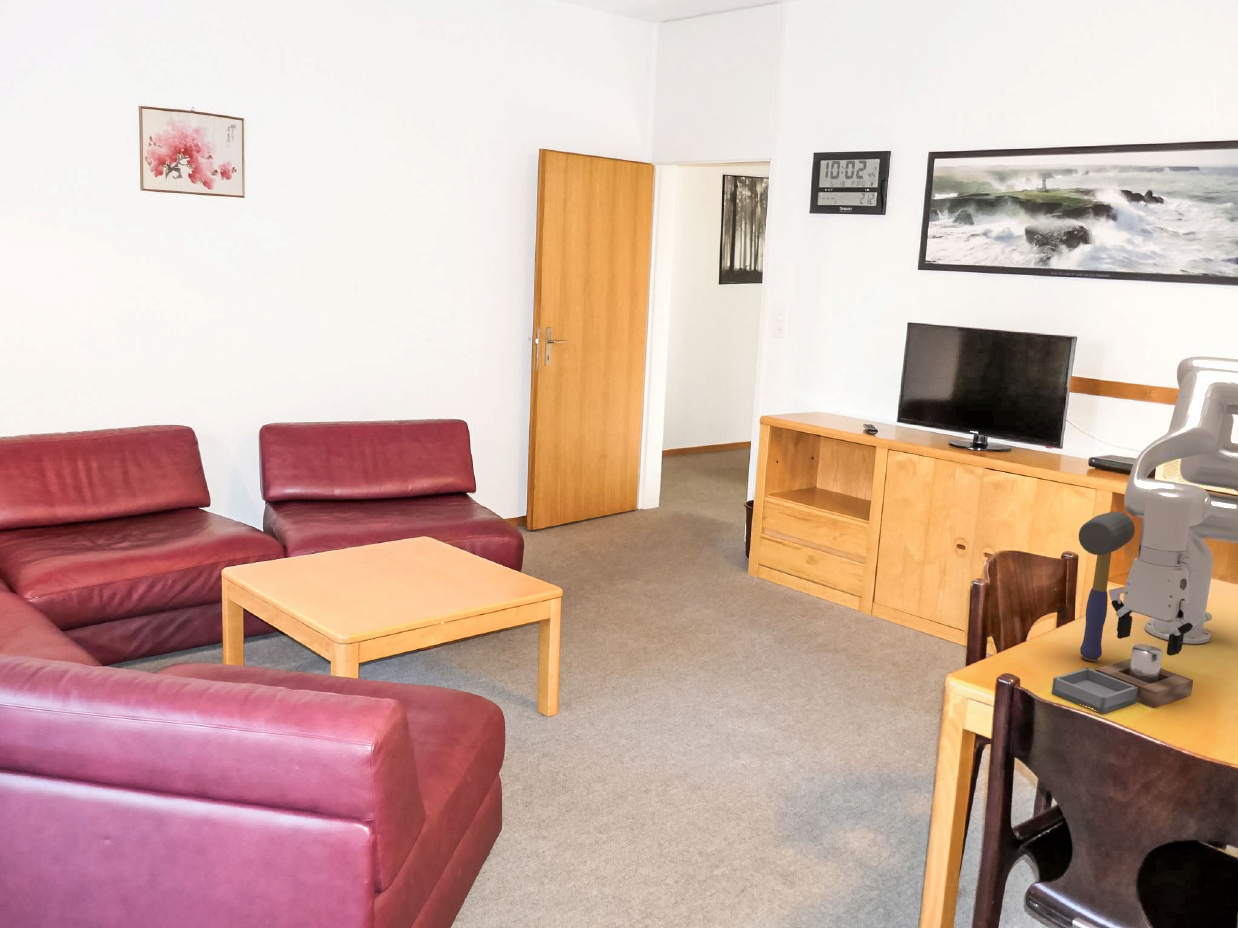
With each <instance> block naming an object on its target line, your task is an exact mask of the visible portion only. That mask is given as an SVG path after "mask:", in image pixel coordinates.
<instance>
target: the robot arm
mask: <svg viewBox="0 0 1238 928" xmlns="http://www.w3.org/2000/svg"><path fill="white" fill-rule="evenodd" d="M1176 380H1177V381H1176V382H1177V385H1178V389H1179V390H1178V392H1177V397H1176V401H1175V404H1174V405H1175V406H1174V409H1173V412H1172V415H1171V421H1170V424H1169V428H1168V430H1167V432H1166V434H1164V435H1162V436H1160V437H1159V438H1157V439H1156V440H1154V441H1152V442H1151V443H1150V444H1149V445H1148V446H1146V447H1145V448H1144V449H1143V450H1142V451H1141V452H1140V453H1139V455H1138V456H1136V457H1137V458H1136V459H1135V460H1134V462H1133V465H1132V467H1131V470H1130V473H1129V477H1128V480H1127V484H1126V488H1125V491H1124V492H1125V493H1124V498H1123V499H1124V500H1123V501H1124V502H1123V503H1124V504H1123V505H1124V508H1125V510H1126V511H1127V513H1129V514H1130V515H1131V516H1133V517H1137V518H1141V519H1142V522H1141V523H1142V524H1141V530H1140V531H1141V532H1140V540H1139V545H1138V552H1137V557H1135V558H1134V559H1133V561H1132V564H1131V567H1130V568H1129V570H1128V571H1129V572H1128V575H1127V578H1126V581H1125V582H1126V583H1125V586H1121V587H1116V588H1112V589H1109V590H1108V595H1109V597H1110V601H1111V603H1110V604H1111V606H1112V608H1113V609H1114V611H1115V615H1116V617H1117V618H1118V620H1117V625H1116V632H1117V634H1116V638H1117V639H1125V638H1129V637H1131V632H1132V623H1133V616H1132V614H1133V613H1136V614H1138V615H1142V616H1145V617H1149V618H1151V619H1149V620H1147V621H1146V622H1145V624H1144V629H1145V630H1146V632H1148V633H1149V634H1150V635H1152V636H1154V637H1156V638H1159V639H1163V640H1167V649H1166V655H1167V656H1169V657H1172V656H1176V655H1178V654H1180V652H1182V650H1183V644H1189V645H1190V644H1192V645H1199V644H1206V643H1208V642H1210V640H1211V633H1210V632H1209V631H1208V630H1207V629H1205V628H1204V625H1205V623H1206V622H1210V621H1212V618H1213V615H1212V614H1211V613H1210V612H1208V611H1207V608H1208V607H1207V606H1208V600H1209V599H1208V598H1209V593H1210V588H1211V587H1210V586H1211V582H1212V575H1213V568H1214V556H1213V553H1212V550H1211V549H1210V547H1209V546H1208V544H1207V543H1206V541H1205V540H1204V539H1210V540H1217V541H1221V542H1229V543H1233V544H1234V543H1235V544H1238V496H1234V495H1227V494H1220V493H1216V492H1208V491H1207V490H1206V489H1205V488H1204V487H1201V486H1207V487H1212V488H1219V489H1220V488H1221V489H1227V490H1234V492H1237V493H1238V443H1235V442H1232V433H1233V427H1234V421H1235V419H1234V416H1233V415H1236V416H1238V359H1237V358H1227V357H1217V356H1190V357H1185V358H1184V359H1182V360H1180V362H1179V364H1178V366H1177V369H1176ZM1176 460H1177V461H1178V460H1180V464H1179V465H1180V467H1179V469H1180V470H1179V472H1180V476H1181V477H1182V478H1181V479H1183V480H1184V481H1186V482H1187V483H1181V482H1175V481H1169V480H1168V481H1167V480H1161V479H1154V478H1148V477H1149V475H1150V474H1151V472H1153V470H1155V469H1156V468H1158V467H1160V466H1162V465H1164V464H1166V463H1170V462H1173V461H1176ZM1188 482H1189V483H1192V484H1188ZM1193 484H1195V485H1193ZM1198 485H1201V486H1198ZM1122 594H1123V599H1122V600H1121V595H1122Z"/></svg>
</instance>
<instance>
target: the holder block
mask: <svg viewBox="0 0 1238 928" xmlns="http://www.w3.org/2000/svg"><path fill="white" fill-rule="evenodd" d="M1130 661H1131V657H1130V658H1127V659H1124V660H1121V661H1117V662H1115V663H1114V662H1113V663H1111V664H1110V663H1109V664H1108V665H1104V666H1100V667H1098V668H1095V669H1094V671H1097V672H1099V673H1102V674H1104V675H1107V676H1110V677H1112V678H1115V679H1117V680H1120V681H1123V682H1125V683H1128V684H1130V685H1133V686H1136V687H1138V691H1137V698H1136V702H1137V703H1140V704H1143V705H1146V706H1148V707H1150V708H1152V709H1155V708H1158V707H1161V706H1164V705H1166V704H1170V703H1173V702H1175V701H1178V700H1180V699H1184V698H1187V697H1190V696H1191V695H1192V690H1193V681H1194V679H1191V678H1190V677H1187V676H1184V675H1181V674H1178V673H1176V672H1172V671H1170V670H1168V669H1164V668H1161V667H1160V672H1159V679H1158V681H1157V682H1154V683H1151V684H1150V683H1147V682H1144V681H1142V680H1139V679H1136V678H1134V677H1131V676H1128V675H1129V668H1130Z"/></svg>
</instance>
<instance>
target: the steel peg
mask: <svg viewBox="0 0 1238 928" xmlns="http://www.w3.org/2000/svg"><path fill="white" fill-rule="evenodd" d="M1130 658H1131V661H1130V668H1129V675H1128V676H1131V677H1134V678H1136V679H1139V680H1142V681H1144V682H1147V683H1150V684H1151V683H1154V682H1157V681H1158V679H1159V672H1160V668H1161V665H1162V659H1163V650H1162V649H1161V648H1158V647H1157V646H1154V645H1149V644H1143V643H1142V644H1137V643H1136V644H1133V645H1132V647H1131V656H1130Z"/></svg>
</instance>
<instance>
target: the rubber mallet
mask: <svg viewBox="0 0 1238 928" xmlns="http://www.w3.org/2000/svg"><path fill="white" fill-rule="evenodd" d="M1135 528H1136V527H1135V524H1134V522H1133V520H1132V518H1130V516H1128V515H1127V514H1125V513H1124V512H1121V511H1109V512H1105V513H1101V514H1098V515H1096V516H1094V517H1093V518H1091V519H1090V520H1088V521H1087V522H1085V523H1084V524H1083V525H1082V526H1081V527H1080V529H1079V531H1078V541H1079V544H1080V546H1081V547H1082V548H1083V550H1085V551H1086V552H1087V553H1089V554H1091V555H1094V556H1095V555H1096V562H1095V570H1094V575H1093V582H1092V588H1091V589H1090V591H1089V594H1088V597H1087V602H1086V607H1085V627H1084V633H1083V634H1084V635H1083V639H1082V643H1081V646H1080V647H1079V648H1080V649H1079V653H1080V655H1081V657H1082V659H1084V660H1086V661H1089V662H1097V661H1099V659H1100V657H1102V654H1103V650H1102V648H1103V647H1102V641H1103V640H1102V639H1103V631H1104V626H1105V622H1106V620H1107V619H1106V618H1107V614H1108V599H1109V598H1108V595H1109V594H1108V591H1107V589H1108V581H1109V575H1110V566H1111V560H1112V559H1111V558H1112V553H1113V552H1116V551H1118V550H1120V549H1121V548H1122V547H1124V546H1125V545H1127V544H1128V543H1129V542H1130V541H1131V540H1132V539H1133V538H1134V535H1135V533H1136V532H1135V530H1136V529H1135Z"/></svg>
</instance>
